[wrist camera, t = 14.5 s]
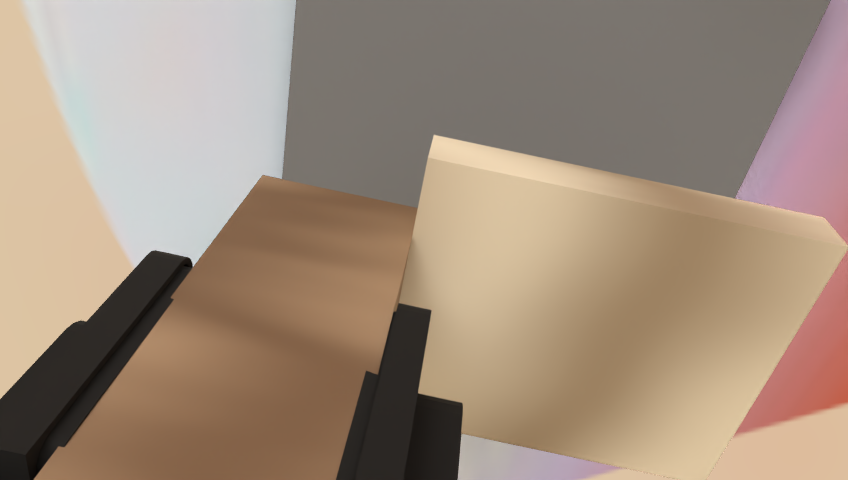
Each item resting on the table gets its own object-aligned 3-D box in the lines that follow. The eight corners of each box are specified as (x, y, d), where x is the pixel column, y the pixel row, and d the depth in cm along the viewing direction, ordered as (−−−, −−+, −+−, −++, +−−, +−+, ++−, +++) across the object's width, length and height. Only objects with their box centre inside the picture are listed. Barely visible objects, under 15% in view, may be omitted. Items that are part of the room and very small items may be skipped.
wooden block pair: (252, 354, 15) (-27, 906, 7) (266, 99, 12) (-207, 589, 4) (692, 448, 15) (892, 1105, 7) (823, 217, 12) (1444, 944, 4)
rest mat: (315, -131, 15) (306, -131, 15) (823, -23, 15) (838, -16, 15) (280, 285, 21) (273, 299, 21) (641, 363, 21) (646, 380, 21)
